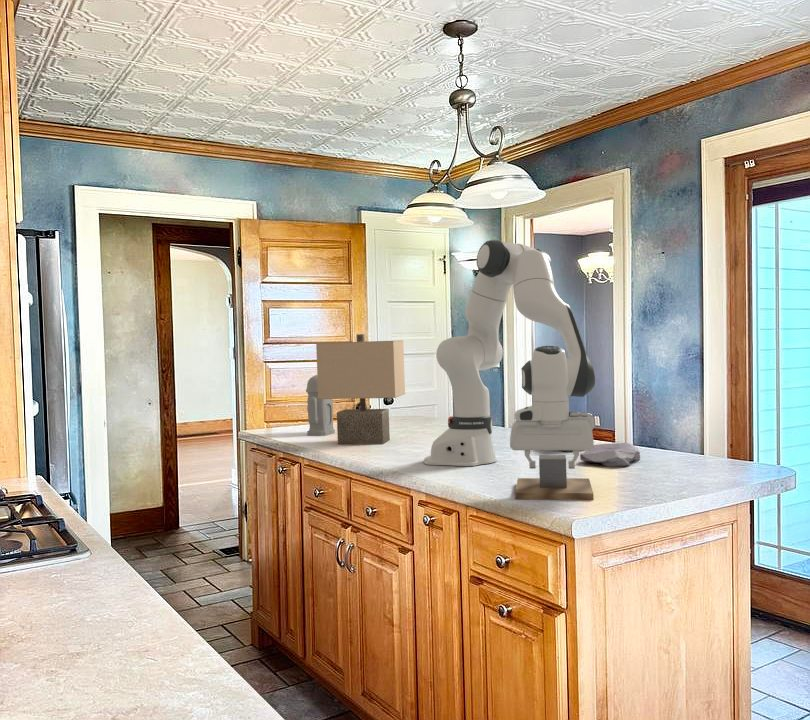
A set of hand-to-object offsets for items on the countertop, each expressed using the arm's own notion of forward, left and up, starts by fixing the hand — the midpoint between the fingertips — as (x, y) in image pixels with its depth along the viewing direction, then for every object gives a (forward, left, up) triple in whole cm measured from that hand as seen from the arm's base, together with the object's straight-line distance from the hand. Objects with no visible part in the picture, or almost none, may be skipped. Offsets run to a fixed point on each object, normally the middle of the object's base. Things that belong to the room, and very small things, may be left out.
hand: (552, 468), depth 182 cm
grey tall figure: (-95, +113, -6) cm, 148 cm away
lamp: (-70, +88, -6) cm, 112 cm away
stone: (+18, +44, -6) cm, 48 cm away
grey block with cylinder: (0, +1, -4) cm, 4 cm away
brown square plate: (0, 0, -6) cm, 6 cm away
